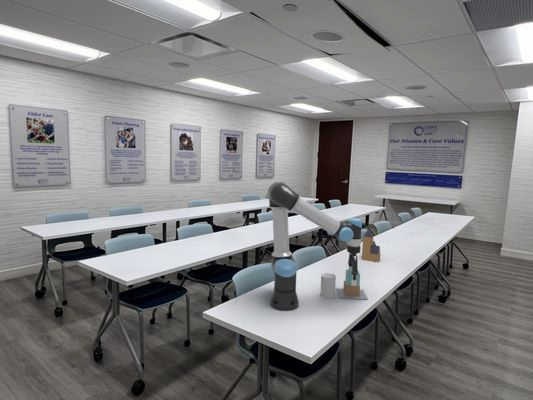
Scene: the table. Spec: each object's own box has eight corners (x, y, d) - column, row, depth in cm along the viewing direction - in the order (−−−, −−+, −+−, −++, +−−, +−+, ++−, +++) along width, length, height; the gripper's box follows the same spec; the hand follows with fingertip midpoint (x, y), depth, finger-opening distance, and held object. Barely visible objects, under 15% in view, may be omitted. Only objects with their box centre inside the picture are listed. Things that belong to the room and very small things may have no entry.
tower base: (338, 298, 192) (339, 287, 191) (336, 289, 206) (336, 278, 205) (367, 300, 190) (368, 288, 189) (363, 290, 204) (363, 280, 203)
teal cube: (347, 285, 194) (347, 273, 193) (345, 281, 201) (346, 269, 200) (359, 286, 193) (360, 274, 193) (357, 281, 200) (358, 270, 199)
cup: (324, 291, 201) (325, 272, 200) (337, 295, 196) (338, 275, 195) (317, 295, 195) (318, 275, 193) (330, 299, 190) (331, 279, 188)
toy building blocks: (361, 259, 270) (363, 228, 267) (369, 254, 285) (371, 225, 282) (377, 262, 262) (379, 230, 259) (384, 257, 277) (386, 227, 275)
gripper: (364, 251, 182) (362, 289, 184) (357, 240, 206) (355, 274, 209) (350, 250, 183) (348, 288, 185) (344, 240, 207) (342, 273, 210)
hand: (352, 281), depth 197 cm, fingers open, 13 cm apart
